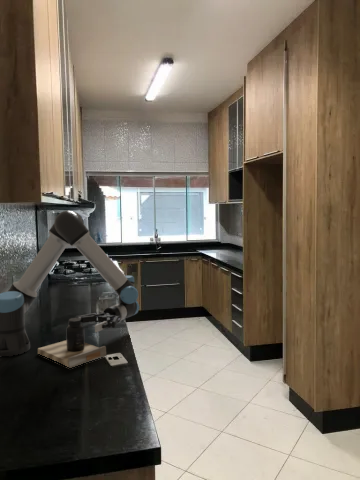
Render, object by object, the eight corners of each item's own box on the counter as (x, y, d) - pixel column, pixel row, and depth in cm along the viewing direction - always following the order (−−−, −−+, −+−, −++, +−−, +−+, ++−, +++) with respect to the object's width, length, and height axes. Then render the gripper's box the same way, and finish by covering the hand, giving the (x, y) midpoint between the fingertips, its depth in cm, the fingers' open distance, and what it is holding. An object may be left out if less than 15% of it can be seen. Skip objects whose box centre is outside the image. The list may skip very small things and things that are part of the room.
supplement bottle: (62, 350, 149) (61, 320, 148) (75, 345, 155) (74, 316, 154) (75, 353, 146) (74, 322, 145) (88, 348, 152) (87, 318, 151)
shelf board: (37, 354, 152) (37, 344, 152) (72, 344, 164) (72, 334, 164) (70, 369, 137) (70, 358, 137) (106, 356, 149) (106, 346, 149)
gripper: (138, 325, 166) (107, 340, 147) (92, 319, 177) (59, 332, 158) (137, 308, 165) (107, 320, 147) (92, 303, 177) (58, 314, 158)
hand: (82, 326), depth 152 cm, fingers open, 13 cm apart
